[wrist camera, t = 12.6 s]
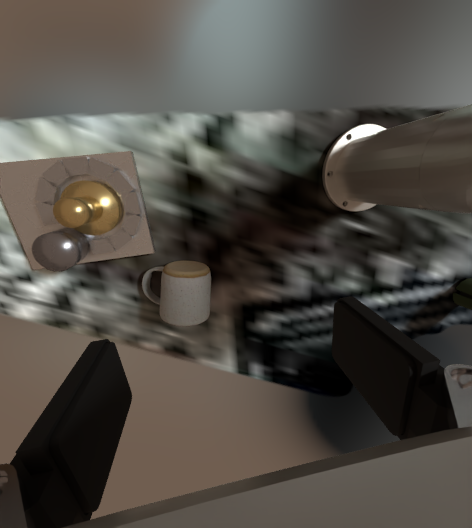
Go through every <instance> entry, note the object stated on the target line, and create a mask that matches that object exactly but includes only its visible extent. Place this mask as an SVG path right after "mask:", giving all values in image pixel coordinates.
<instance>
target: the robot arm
mask: <svg viewBox="0 0 472 528" xmlns="http://www.w3.org/2000/svg"><path fill="white" fill-rule="evenodd" d="M346 138H347V139H346ZM327 174H328V175H327ZM322 179H323V186H324V189H325V192H326V194H327V196H328V198H329V199H330V200H331V202H332V203H333V204H335V205H336V206H337V207H339V208H341V209H343V210H348V211H356V212H357V211H364V210H367V209H370V208H372V207H373V206H375V205H377V204H380V205H389V206H398V207H407V208H416V209H425V210H434V211H443V212H454V213H472V104H471V105H468V106H465V107H462V108H458V109H455V110H451V111H448V112H444V113H441V114H438V115H434V116H431V117H427V118H424V119H420V120H417V121H413V122H410V123H407V124H403V125H400V126H396V127H393V128H389V129H385V128H384V127H382V126H379V125H376V124H363V125H359V126H356V127H353V128H351V129H349V130H348V131H346V132H344V133H343V134H342V135H341V136H339V137H338V138H337V140H336V141H335V142H334V143H333V144H332V146H331V148H330V149H329V151H328V153H327V155H326V158H325V161H324V165H323V172H322ZM332 355H333V358H334V360H335V361H336V363H337V364H338V365H339V366H340V368H341V369H342V370H343V372H344V373H345V374H346V375H347V377H348V378H349V379H350V381H351V382H352V383H353V385H354V386H355V387H356V388H357V390H358V391H359V392H360V393H361V395H362V396H363V397H364V398H365V400H366V401H367V403H368V404H369V405H370V406H371V408H372V409H373V410H374V412H375V413H376V414H377V416H378V417H379V418H380V419H381V421H382V422H383V423H384V425H385V426H386V427H387V428H388V430H389V431H390V432H391V433H392V434H393V435H395V436H398V437H399V438H400V441H396V442H392V443H387V444H383V445H379V446H375V447H371V448H367V449H363V450H359V451H355V452H351V453H347V454H343V455H339V456H334V457H330V458H327V459H322V460H318V461H314V462H311V463H306V464H302V465H299V466H295V467H291V468H287V469H283V470H279V471H275V472H271V473H267V474H263V475H259V476H255V477H251V478H247V479H243V480H239V481H236V482H232V483H227V484H224V485H220V486H216V487H212V488H208V489H204V490H201V491H197V492H193V493H189V494H185V495H181V496H177V497H173V498H170V499H166V500H162V501H158V502H154V503H150V504H147V505H143V506H139V507H135V508H132V509H127V510H124V511H120V512H116V513H113V514H109V515H106V516H103V517H99V518H96V519H92V520H90V518H91V515H92V512H94V511H96V510H97V509H98V507H99V505H100V502H101V498H102V495H103V492H104V489H105V486H106V482H107V479H108V476H109V472H110V469H111V466H112V463H113V460H114V456H115V453H116V450H117V447H118V443H119V440H120V437H121V434H122V430H123V427H124V424H125V421H126V417H127V414H128V411H129V408H130V404H131V399H132V393H131V390H130V387H129V384H128V381H127V378H126V375H125V372H124V369H123V366H122V363H121V360H120V357H119V354H118V352H117V349H116V346H115V343H114V342H110V341H109V340H108V339H105V340H99V341H93V342H91V343H90V344H89V345H88V347H87V348H86V350H85V351H84V352H83V354H82V355H81V357H80V358H79V360H78V361H77V363H76V364H75V366H74V367H73V369H72V370H71V372H70V373H69V374H68V376H67V377H66V379H65V380H64V382H63V383H62V385H61V386H60V388H59V389H58V391H57V392H56V394H55V395H54V396H53V398H52V400H51V401H50V402H49V404H48V405H47V407H46V408H45V410H44V411H43V413H42V414H41V416H40V417H39V419H38V420H37V422H36V423H35V424H34V426H33V427H32V429H31V430H30V432H29V433H28V435H27V436H26V438H25V439H24V440H23V442H22V443H21V445H20V446H19V448H18V450H17V451H16V456H15V457H14V458H13V460H12V461H11V463H10V464H7V463H6V464H0V528H472V366H467V365H462V364H457V365H456V364H454V365H450V366H447V367H446V369H444V368H443V367H441V366H440V365H439V363H440V360H439V359H438V358H437V357H435V356H434V355H432V354H431V353H430V352H428V351H427V350H426V349H424V348H423V347H421V346H420V345H419V344H417V343H416V342H415V341H413V340H412V339H410V338H409V337H408V336H406V335H405V334H404V333H402V332H401V331H399V330H398V329H397V328H395V327H394V326H393V325H391V324H390V323H388V322H387V321H386V320H384V319H383V318H382V317H380V316H379V315H378V314H376V313H375V312H373V311H372V310H371V309H369V308H368V307H367V306H365V305H364V304H362V303H361V302H360V301H358V300H357V299H356V298H354V297H346V298H340V299H338V301H337V302H336V303H335V304H334V319H333V339H332Z"/></svg>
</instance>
